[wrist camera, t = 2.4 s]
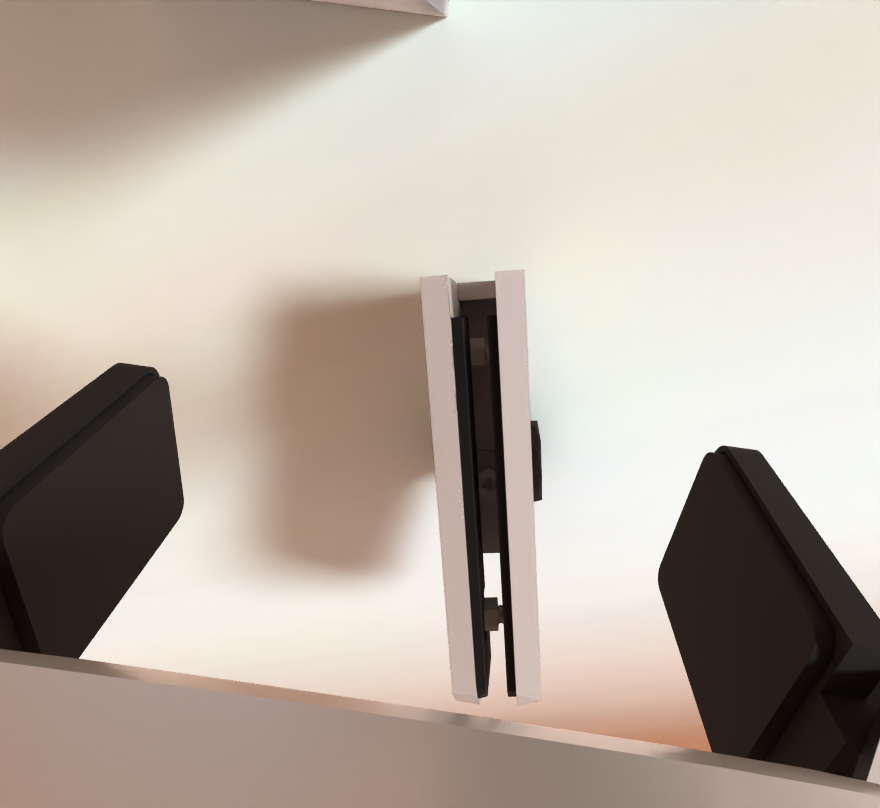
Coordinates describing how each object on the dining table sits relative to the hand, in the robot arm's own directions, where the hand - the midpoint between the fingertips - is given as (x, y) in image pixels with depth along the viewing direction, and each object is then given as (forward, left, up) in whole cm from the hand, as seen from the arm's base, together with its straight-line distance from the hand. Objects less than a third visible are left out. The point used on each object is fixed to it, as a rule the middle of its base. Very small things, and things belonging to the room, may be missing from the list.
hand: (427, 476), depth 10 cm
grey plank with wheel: (0, +1, -12) cm, 12 cm away
